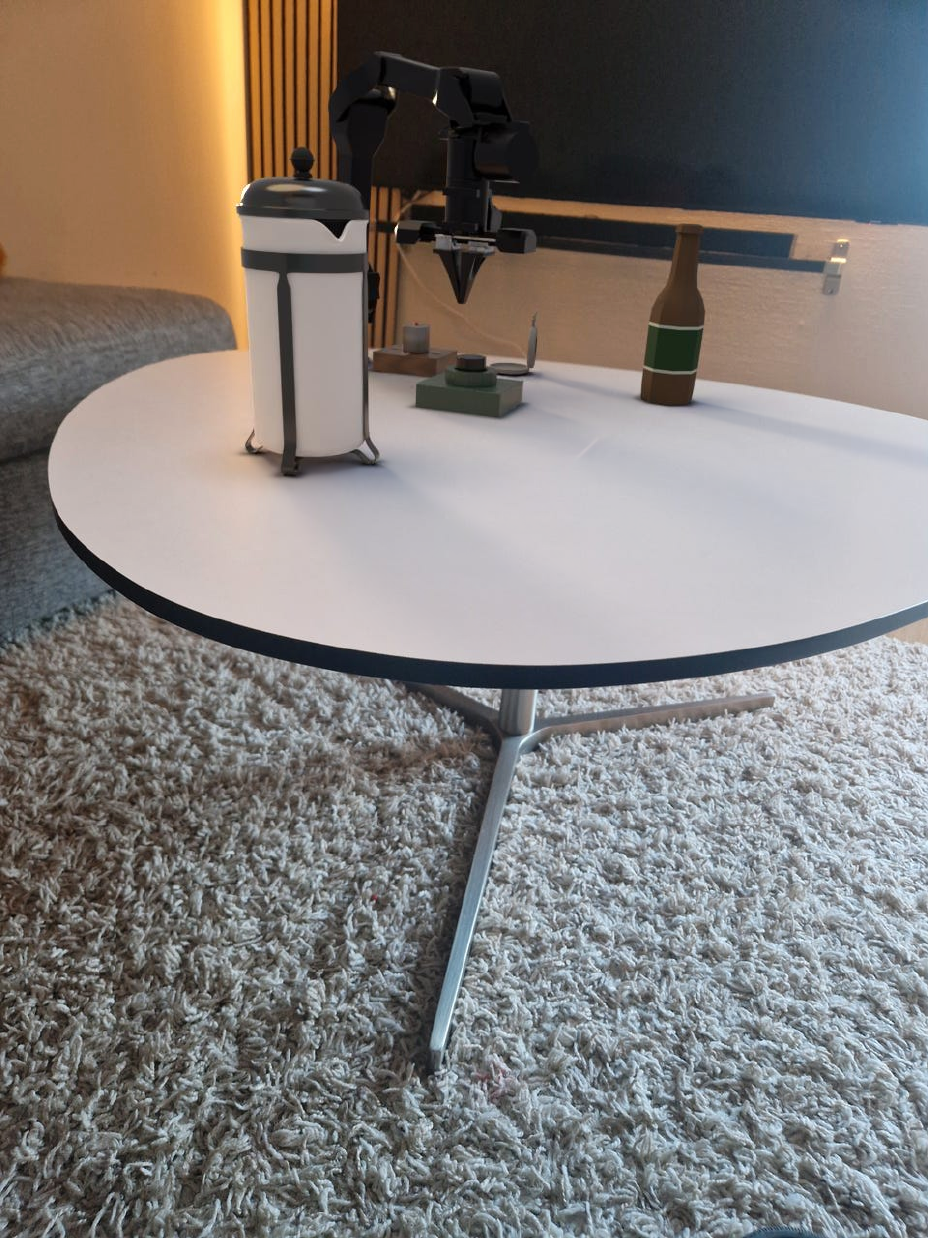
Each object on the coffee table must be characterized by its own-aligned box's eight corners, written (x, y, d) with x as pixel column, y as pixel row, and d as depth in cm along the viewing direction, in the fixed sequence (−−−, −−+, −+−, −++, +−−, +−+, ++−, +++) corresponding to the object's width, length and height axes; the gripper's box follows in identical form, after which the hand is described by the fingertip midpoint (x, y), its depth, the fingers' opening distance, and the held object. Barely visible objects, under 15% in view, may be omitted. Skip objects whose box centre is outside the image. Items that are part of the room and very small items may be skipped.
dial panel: (373, 370, 144) (372, 350, 143) (396, 362, 152) (396, 343, 150) (436, 378, 141) (436, 357, 139) (456, 369, 148) (457, 349, 147)
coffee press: (402, 446, 103) (405, 153, 90) (350, 484, 89) (345, 144, 76) (265, 430, 107) (250, 147, 94) (194, 464, 93) (164, 138, 80)
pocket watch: (482, 369, 149) (485, 306, 145) (526, 367, 153) (530, 305, 148) (504, 378, 143) (508, 312, 138) (550, 376, 146) (555, 312, 142)
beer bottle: (688, 396, 136) (714, 224, 126) (695, 407, 129) (723, 226, 119) (637, 393, 137) (658, 221, 126) (641, 404, 130) (664, 223, 119)
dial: (431, 353, 143) (431, 325, 141) (403, 352, 143) (404, 324, 141) (427, 348, 147) (428, 321, 145) (400, 348, 146) (401, 320, 145)
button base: (415, 407, 122) (416, 369, 120) (443, 394, 130) (444, 358, 128) (498, 418, 118) (500, 379, 116) (521, 403, 126) (524, 367, 124)
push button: (452, 372, 121) (452, 356, 120) (462, 367, 124) (463, 352, 124) (479, 375, 120) (480, 359, 119) (489, 370, 123) (490, 355, 122)
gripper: (553, 184, 122) (542, 304, 129) (427, 176, 128) (423, 291, 135) (528, 183, 113) (518, 313, 120) (394, 175, 118) (391, 299, 125)
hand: (461, 303), depth 125 cm, fingers closed
